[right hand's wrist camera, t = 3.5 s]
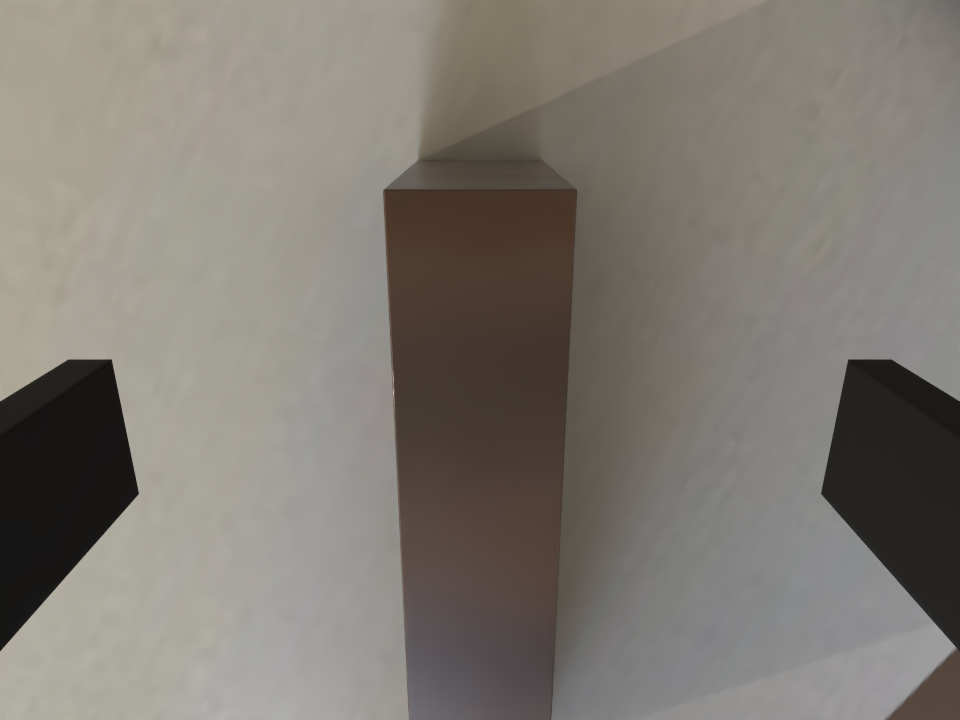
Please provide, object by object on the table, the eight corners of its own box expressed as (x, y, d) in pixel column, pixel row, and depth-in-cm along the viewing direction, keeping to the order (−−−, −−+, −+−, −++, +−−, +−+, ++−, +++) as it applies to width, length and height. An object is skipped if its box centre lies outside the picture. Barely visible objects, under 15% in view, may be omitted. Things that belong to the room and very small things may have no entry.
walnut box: (416, 160, 27) (383, 189, 17) (543, 160, 27) (577, 189, 17) (435, 754, 38) (420, 966, 29) (524, 754, 38) (539, 966, 29)
